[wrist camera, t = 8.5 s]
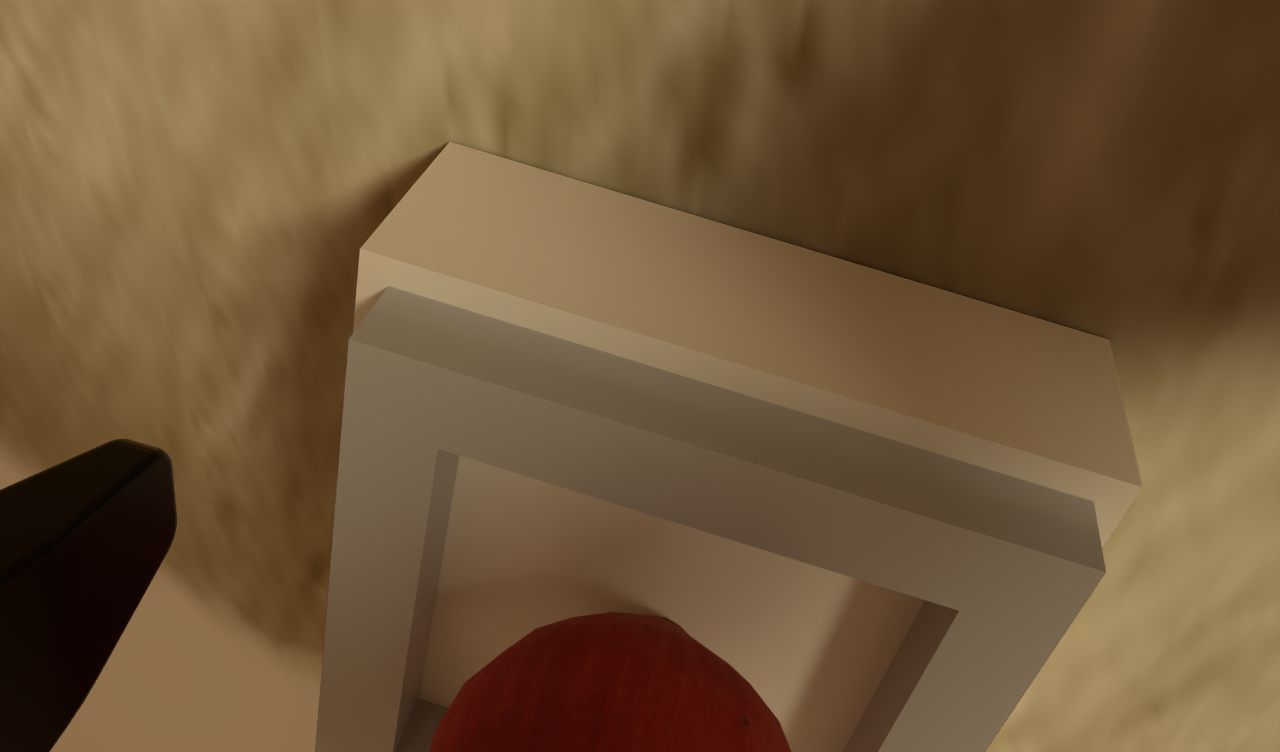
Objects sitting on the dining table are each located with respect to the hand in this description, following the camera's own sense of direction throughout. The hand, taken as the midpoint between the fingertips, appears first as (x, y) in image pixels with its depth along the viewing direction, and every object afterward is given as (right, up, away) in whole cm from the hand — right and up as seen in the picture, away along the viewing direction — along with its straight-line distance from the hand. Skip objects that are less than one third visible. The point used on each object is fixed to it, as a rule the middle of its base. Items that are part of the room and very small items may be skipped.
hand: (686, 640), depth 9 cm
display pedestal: (+1, 0, +15) cm, 15 cm away
